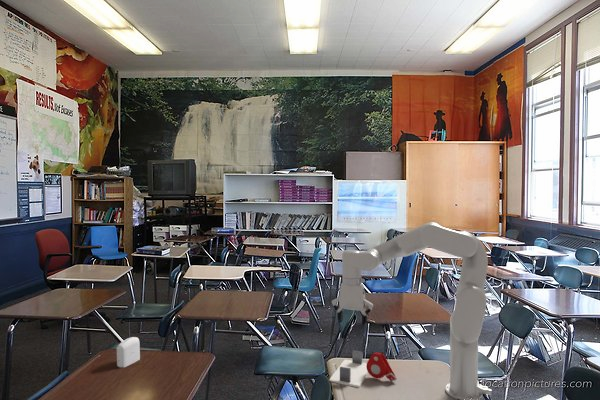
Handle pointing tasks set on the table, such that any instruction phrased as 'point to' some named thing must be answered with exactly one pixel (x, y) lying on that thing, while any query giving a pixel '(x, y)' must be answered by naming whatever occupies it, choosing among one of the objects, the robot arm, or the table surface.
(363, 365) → the board
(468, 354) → the robot arm
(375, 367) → the red curved piece
